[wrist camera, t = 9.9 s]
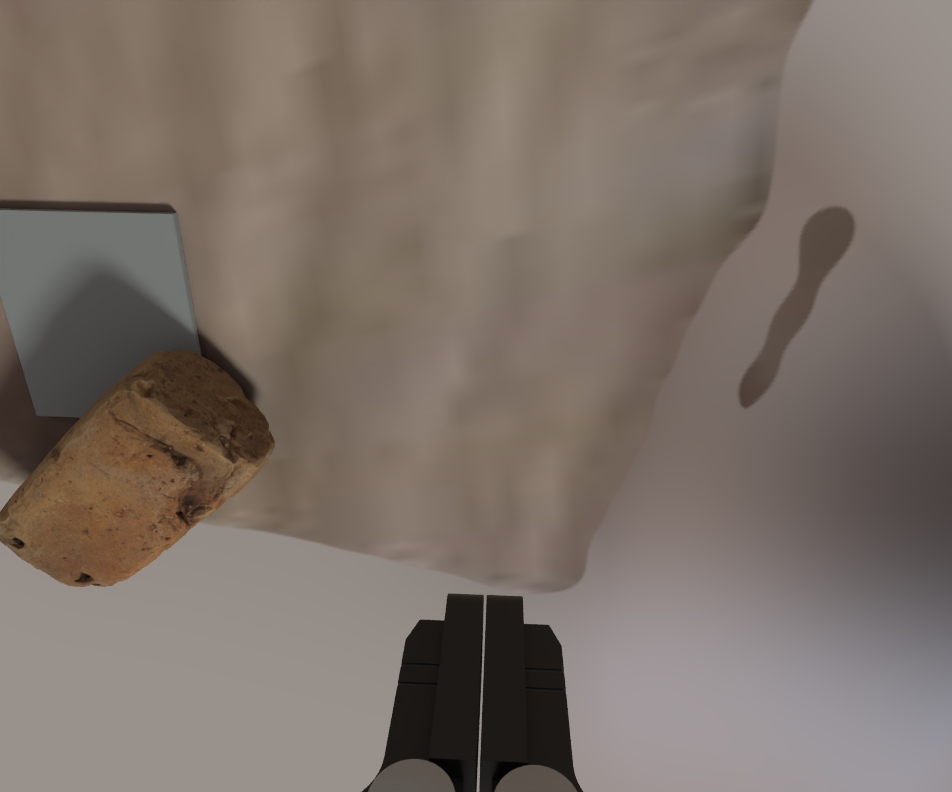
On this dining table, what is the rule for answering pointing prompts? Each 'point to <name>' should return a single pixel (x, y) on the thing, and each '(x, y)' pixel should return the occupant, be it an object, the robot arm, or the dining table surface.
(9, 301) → the mat
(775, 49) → the dining table surface
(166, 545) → the brown rounded piece
